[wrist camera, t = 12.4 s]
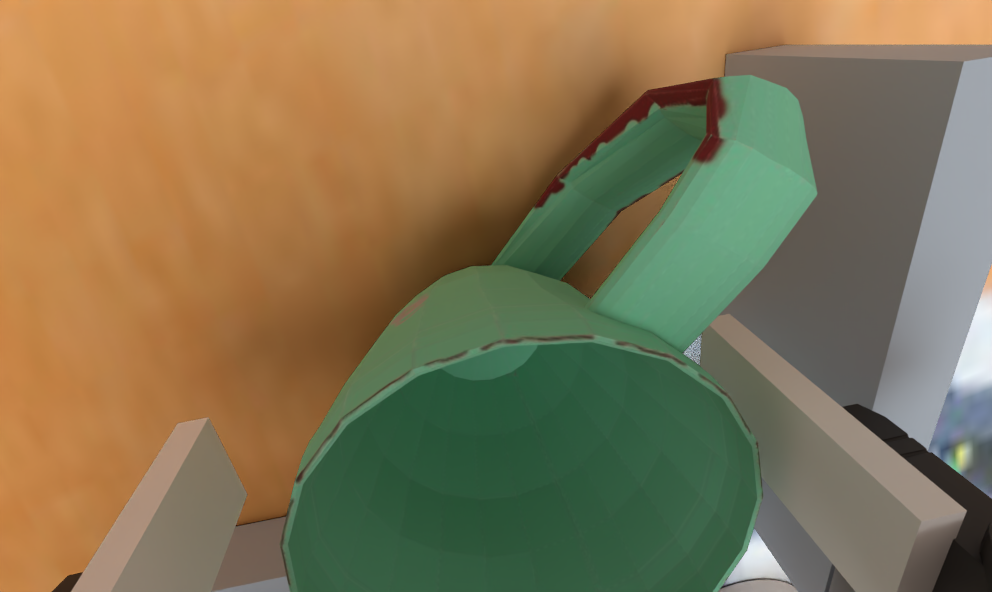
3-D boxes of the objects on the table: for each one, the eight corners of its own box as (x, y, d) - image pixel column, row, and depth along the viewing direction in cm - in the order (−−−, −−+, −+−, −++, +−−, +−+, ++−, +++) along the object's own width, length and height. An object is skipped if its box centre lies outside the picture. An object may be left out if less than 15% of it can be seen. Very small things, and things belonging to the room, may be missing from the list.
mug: (529, 455, 22) (603, 720, 13) (309, 382, 19) (210, 658, 10) (731, 148, 18) (1052, 230, 9) (485, -7, 15) (585, -127, 6)
